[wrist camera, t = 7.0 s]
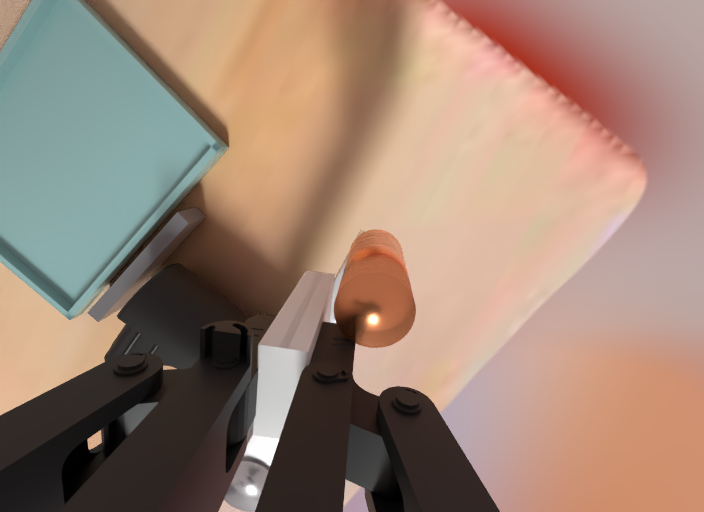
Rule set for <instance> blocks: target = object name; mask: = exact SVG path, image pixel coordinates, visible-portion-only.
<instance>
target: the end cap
mask: <svg viewBox="0 0 704 512" xmlns="http://www.w3.org/2000/svg"><path fill="white" fill-rule="evenodd" d="M117 317H118V318H119V319H120V320H121V321H123V322H124V323H125V324H126V325H125V326H124V328H123V329H122V331H121V332H120V334H119V335H118V337H117V338H116V339H115V341H114V342H113V344H112V346H111V348H110V349H109V351H108V352H107V353H106V355H105V357H104V358H105V362H106V361H108V360H110V359H113V358H115V357H118V356H120V355H124V354H129V353H132V352H138V353H139V352H146V353H151V354H155V355H157V356H159V357H160V358H161V360H162V362H163V365H166V366H172V367H174V368H177V369H187V368H191V367H192V366H193V365H194V364H195V363H196V361H197V360H198V359H199V358H200V328H202V327H203V326H205V325H207V324H210V323H213V322H217V321H226V320H227V321H238V322H242V323H245V321H246V320H247V319H249V318H251V316H250V315H248V314H247V313H246V312H244V311H243V310H242V309H240V308H239V307H238V306H236V305H235V304H234V303H232V302H231V301H230V300H228V299H227V298H226V297H224V296H223V295H222V294H220V293H219V292H218V291H216V290H215V289H214V288H212V287H211V286H210V285H208V284H207V283H206V282H204V281H203V280H202V279H200V278H199V277H198V276H196V275H195V274H194V273H192V272H191V271H190V270H188V269H187V268H186V267H184V266H183V265H181V264H178V263H177V264H172V265H170V266H168V267H166V268H165V269H163V270H161V271H160V272H159V273H157V274H156V275H155V276H153V277H152V278H151V279H150V280H149V281H148V282H146V283H145V284H144V285H143V286H142V287H141V288H140V289H139V290H138V291H137V292H136V293H135V294H134V295H133V296H132V297H131V299H130V300H129V301H128V302H127V303H126V304H125V306H124V307H123V308H122V309H121V311H120V312H119V314H118V315H117Z"/></svg>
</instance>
